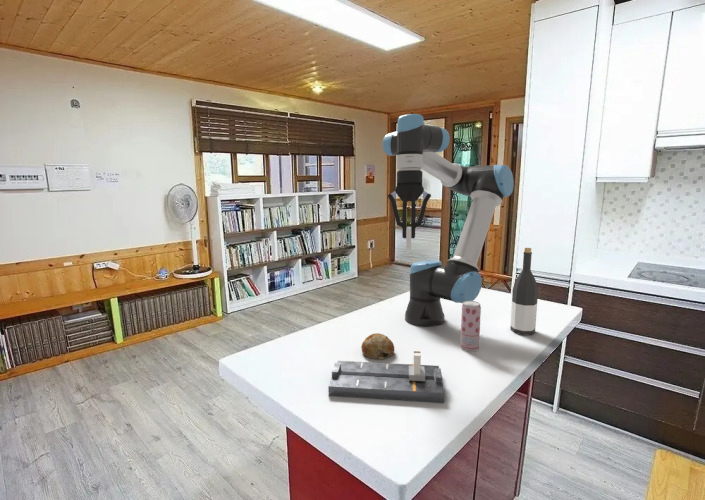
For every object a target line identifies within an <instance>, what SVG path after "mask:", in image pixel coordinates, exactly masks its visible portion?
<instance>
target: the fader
mask: <svg viewBox="0 0 705 500" xmlns="http://www.w3.org/2000/svg"><path fill="white" fill-rule="evenodd" d="M421 355H422V354H421V349H420V348H413V364H414V365H413V366H409V381H425V369H424V366H421V365H422V363H421V362H422V361H421V360H422V359H421V358H422V356H421Z"/></svg>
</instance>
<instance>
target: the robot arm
mask: <svg viewBox="0 0 705 500" xmlns="http://www.w3.org/2000/svg"><path fill="white" fill-rule="evenodd" d="M396 127H397V128H396V131H393V132H390V133H386V134H385V136H384V137H383V140H382V143H381V144H382V150H383V152H384V153H385V154H386V155H387V156H393V157H395V156H396V169H397V172H396V186H395V188H394V191H392V192H391V193H389V194H388V195H387V199H389V200H390V203H391V206H392V211H393V215H394V219H395V223H396V225H397V226H399V227H401V229H402V236H401V237H402V239H405V250H407V251H410V250H412V239H415V238H416V228H418V227H419V226H420V227H421V226H422V224H423V220H424V216H425V212H426V209H427V205H428V202H429V200H430V199H431V197H432V194H431V193H428V192H427V191H426V190H425V189H424V186H423V172H426V173H428V175H430V176H432V177H434V178H436V179H438V180H439V181H440V183H441V185H442V186H444V187H445V188H447V189H449V190H451V191H453V192H455V193H458V194H459V195H462V196H465V197H466V196H467V197H470V198H471V200H472V202H471V205H470V207H469V211H468V213H467V216H466V219H465V221H464V225H463V227H462V230H461V233H460V236H459V239H458V242H457V244H456V247H455V250H454V253H453V255H452V257H451V258H449V259H447V261H446V263H445V266H443V263H442V261H440V260H422V261H416V262H413V263H412V264H411V265H410V269H409V301H408V304H407V307H406V310H405V313H404V319H405V321H406V322H407V323H409V324H412V325H415V326H420V327H435V326H439V325H443V323H444V322H445V312H444V310H443V307H442V303H441V299H443V300H446V301H451V302H454V303H455V304H457V303H458V304H459V303H460V304H463V302H464V301H475V300H476V299H477V297H478V295H479V294H480V292H481V289H482V286H483V285H482V284H483V283H482V282H483V277H482V275H481V274H480V269H479V266H478V261H479V258H480V255H481V253H482V250H483V247H484V243H485V241H486V237H487V235H488V232H489V228H490V225H491V223H492V219H493V216H494V213H495V211H496V207H498V206H500V205H501V204H502V203H503V199H504V198H507V197H510V196H511V195H512V193H513V191H514V186H515V185H514V184H515V183H514V176H513V175H514V174H513V172H512V170H511V168H510V167H509V166H508V165H505V164H494V165H493V164H491V165H474V166H463V165H460V164H458V163H456V162H453V163H452V162H450V161H449V160H447V159H446V158H444V156H441V155H439V154H438V153H441V152H444V151H445V150H446V149H447V148H448V147H449V144H450V139H451V138H450V134H449V131H448V130H447V129H446V128H443V127H440V126H435V125H428V124H425V122H424V116H423V115H422V114H418V113H407V114H403V115H400V116H399V117H398V118H397V126H396ZM422 170H423V171H422ZM421 195H422V196H421ZM397 196H398V198H399V199H400V200H401V201H402V221H401V219H400V214H399V209H398V205H397V201H396V199H397ZM420 197H422V199H423V200H422V202H421V205H420V206H421V207H420V211H419V213H418V218H417V220H416V213H417V211H416V208H417V207H416V206H417V205H416V204H417V203H416V202H417V201H418V200H419V198H420ZM408 202H411V205H410V209H411V210H410V220H411V221H410V226H409V227H408V226H407V222H408V220H407V219H408V215H407V214H408V213H407V212H408Z"/></svg>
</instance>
